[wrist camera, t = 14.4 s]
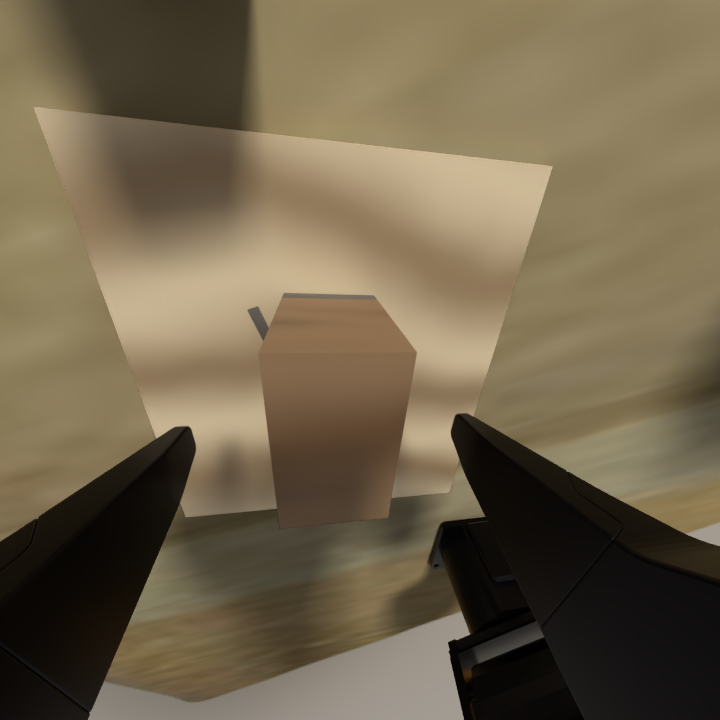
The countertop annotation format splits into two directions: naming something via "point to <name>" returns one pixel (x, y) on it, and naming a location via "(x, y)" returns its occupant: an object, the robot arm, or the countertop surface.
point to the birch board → (289, 273)
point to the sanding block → (334, 406)
